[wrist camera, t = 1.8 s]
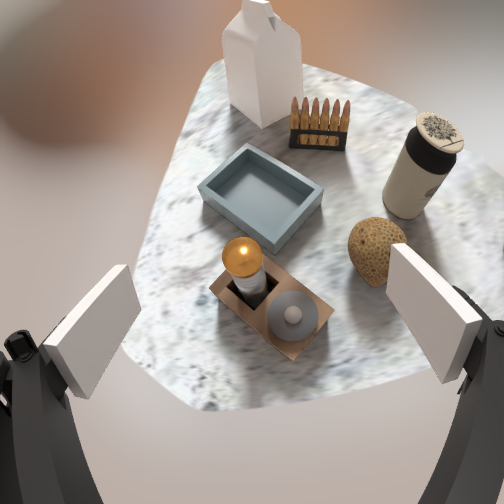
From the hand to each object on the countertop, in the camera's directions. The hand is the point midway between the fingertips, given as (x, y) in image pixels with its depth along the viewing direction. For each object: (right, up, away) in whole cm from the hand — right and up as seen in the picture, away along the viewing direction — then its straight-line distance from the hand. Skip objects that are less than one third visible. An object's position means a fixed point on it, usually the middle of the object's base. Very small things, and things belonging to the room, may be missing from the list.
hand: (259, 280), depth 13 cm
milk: (+3, +34, +44) cm, 56 cm away
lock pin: (0, -5, +28) cm, 29 cm away
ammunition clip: (+12, +22, +38) cm, 45 cm away
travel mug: (+26, +10, +32) cm, 43 cm away
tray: (+1, +10, +34) cm, 36 cm away
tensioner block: (+3, -7, +27) cm, 28 cm away
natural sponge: (+18, 0, +28) cm, 33 cm away
